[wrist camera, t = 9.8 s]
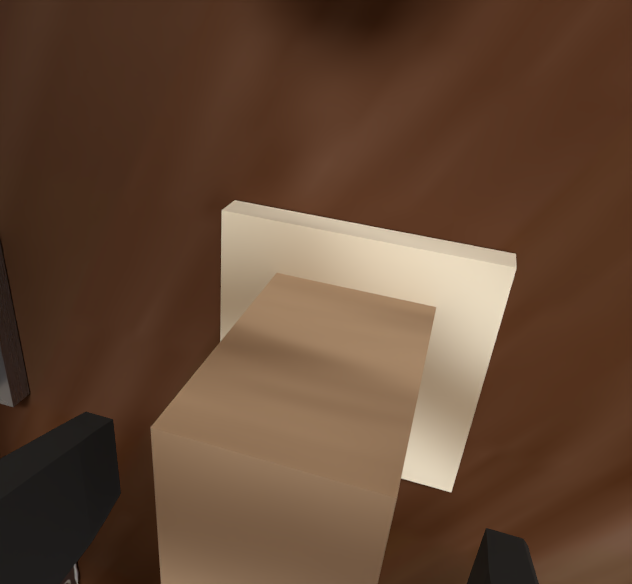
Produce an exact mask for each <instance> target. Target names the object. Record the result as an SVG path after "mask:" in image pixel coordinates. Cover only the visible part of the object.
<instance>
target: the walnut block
mask: <svg viewBox="0 0 632 584" xmlns="http://www.w3.org/2000/svg"><path fill="white" fill-rule="evenodd" d="M435 311H436V307H434V306H429V305H425V304H420V303H415V302H411V301H406V300H401V299H397V298H392V297H387V296H383V295H378V294H373V293H369V292H364V291H359V290H355V289H350V288H345V287H341V286H336V285H331V284H327V283H322V282H317V281H313V280H308V279H304V278H299V277H294V276H290V275H285V274H280V273H276V274H275V275H274V277H273V278H272V279H271V280H270V282H269V283H268V284H267V285H266V286H265V288H264V289H263V290H262V291H261V293H260V294H259V295H258V296H257V297H256V299H255V300H254V301H253V302H252V304H251V305H250V306H249V307H248V309H247V310H246V311H245V312H244V313H243V315H242V316H241V317H240V318H239V320H238V321H237V322H236V323H235V324H234V326H233V327H232V328H231V329H230V331H229V332H228V333H227V334H226V335H225V337H224V338H223V339H222V340H221V342H220V343H219V344H218V345H217V347H216V348H215V349H214V350H213V351H212V353H211V354H210V355H209V356H208V358H207V359H206V360H205V361H204V362H203V364H202V365H201V366H200V367H199V369H198V370H197V371H196V372H195V373H194V375H193V376H192V377H191V378H190V380H189V381H188V382H187V383H186V385H185V386H184V387H183V388H182V389H181V391H180V392H179V393H178V394H177V396H176V397H175V398H174V399H173V400H172V402H171V403H170V404H169V405H168V407H167V408H166V409H165V410H164V412H163V413H162V414H161V415H160V416H159V418H158V419H157V420H156V421H155V423H154V424H153V425H152V426H151V442H152V457H153V472H154V487H155V501H156V516H157V531H158V546H159V561H160V576H161V584H378V580H379V575H380V571H381V566H382V562H383V557H384V553H385V549H386V544H387V540H388V535H389V531H390V527H391V522H392V518H393V513H394V509H395V504H396V500H397V495H398V491H399V486H400V481H401V476H402V471H403V466H404V461H405V457H406V452H407V447H408V442H409V437H410V432H411V428H412V423H413V418H414V413H415V408H416V403H417V399H418V394H419V389H420V384H421V379H422V374H423V370H424V365H425V360H426V355H427V350H428V345H429V340H430V336H431V331H432V326H433V321H434V316H435Z"/></svg>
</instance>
